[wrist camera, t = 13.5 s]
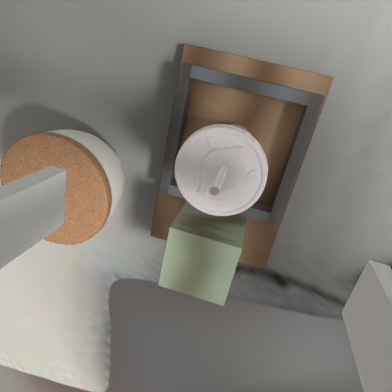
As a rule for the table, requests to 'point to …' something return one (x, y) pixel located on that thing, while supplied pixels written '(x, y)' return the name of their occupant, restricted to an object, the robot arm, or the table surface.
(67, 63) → the table surface
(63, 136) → the lidded jar
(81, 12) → the table surface
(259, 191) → the smoothie
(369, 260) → the robot arm
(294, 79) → the board
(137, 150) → the table surface
